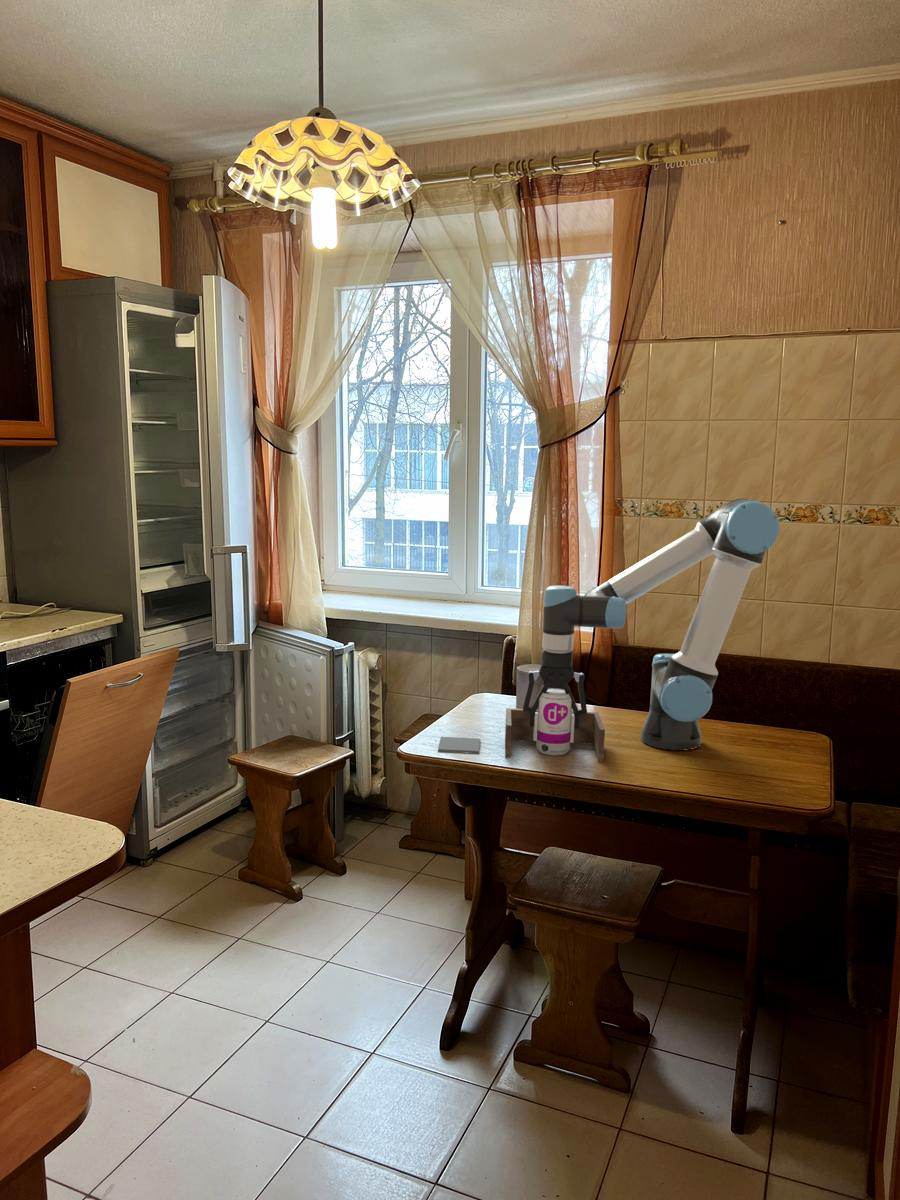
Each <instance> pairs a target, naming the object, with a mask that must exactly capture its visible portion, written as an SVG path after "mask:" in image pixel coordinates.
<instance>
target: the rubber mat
mask: <svg viewBox="0 0 900 1200" xmlns="http://www.w3.org/2000/svg"><path fill="white" fill-rule="evenodd" d="M480 746H481V738H479V737H478V738H477V737H459V736H458V737H457V736H456V737H455V736H441V737H440V738H439V744H438V749H437V751H438V752H441V753H459V752H468V753H467V754H480V749H479V748H480Z"/></svg>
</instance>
